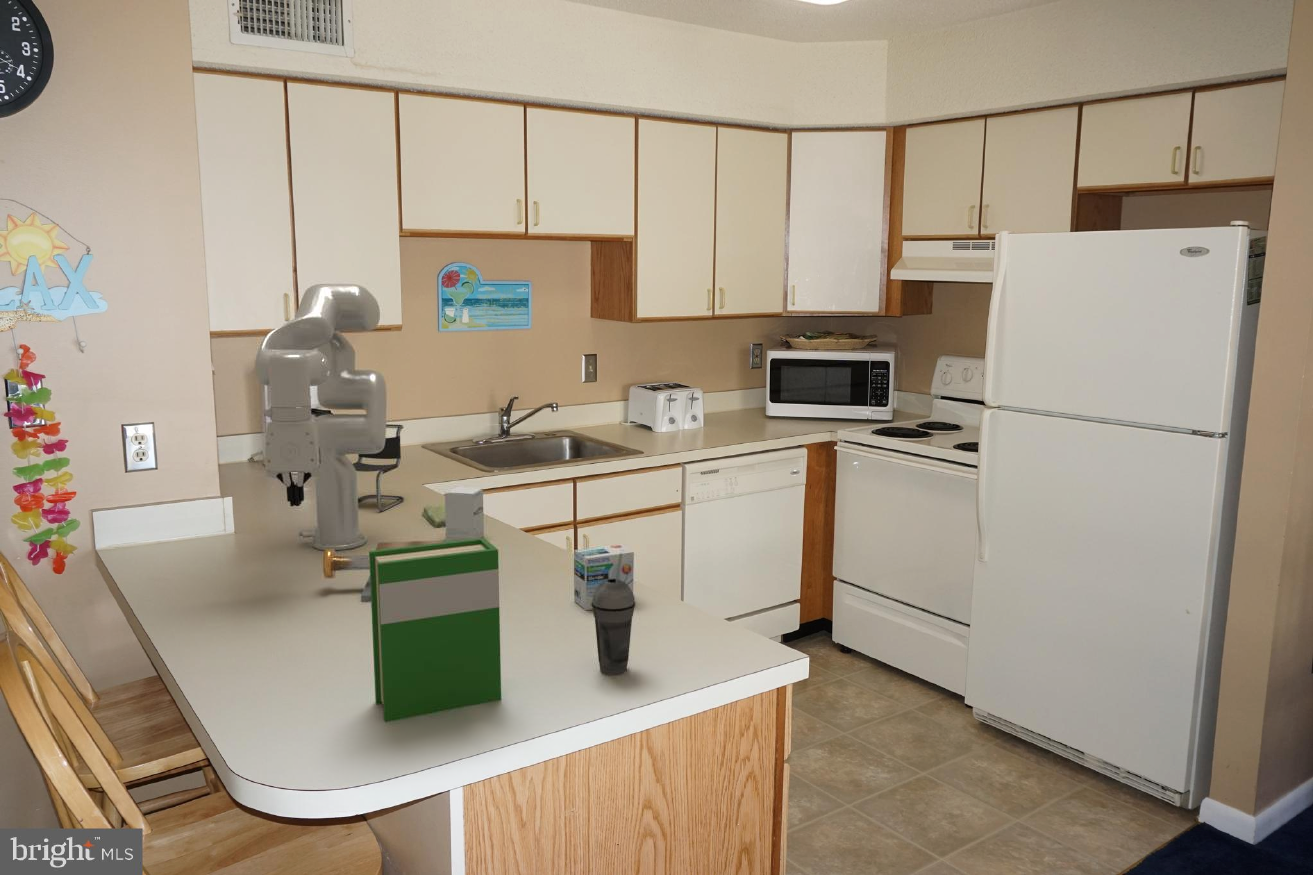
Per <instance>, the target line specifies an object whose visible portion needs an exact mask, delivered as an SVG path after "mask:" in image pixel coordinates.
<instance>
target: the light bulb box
mask: <svg viewBox="0 0 1313 875" xmlns="http://www.w3.org/2000/svg"><path fill="white" fill-rule="evenodd" d="M573 552H574V553H573V578H574V579H573V593H574V594H573V600H574V602H575V603H577V604H578V605H579V606H580V607H582V609H584V610H585V611H593V608H592V605H591V604H592V599H593V595H594V592H595V590H596V588H597V587H598V586H599V585H600V584H601V583H602V582H604V581H605V580H608V579H616V576H617V568H618V560H619V554H620V553H621V554H622V561H621V569H620V577H619V580H622V581H623V582H625V583H626V584H628V586H629V587H630V588H631V590H632V592H633V593H634V569H635V568H634V566H635V564H634V563H635V562H634V560H635V559H634V558H635V556H634V555H635V553H634V551H632V550H630V549H629V548H627V547H626V546H624V545H622V544H620V543H618V544H612V545H604V546H596V547H590V548H589V547H588V548H581V549H574V550H573Z"/></svg>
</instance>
